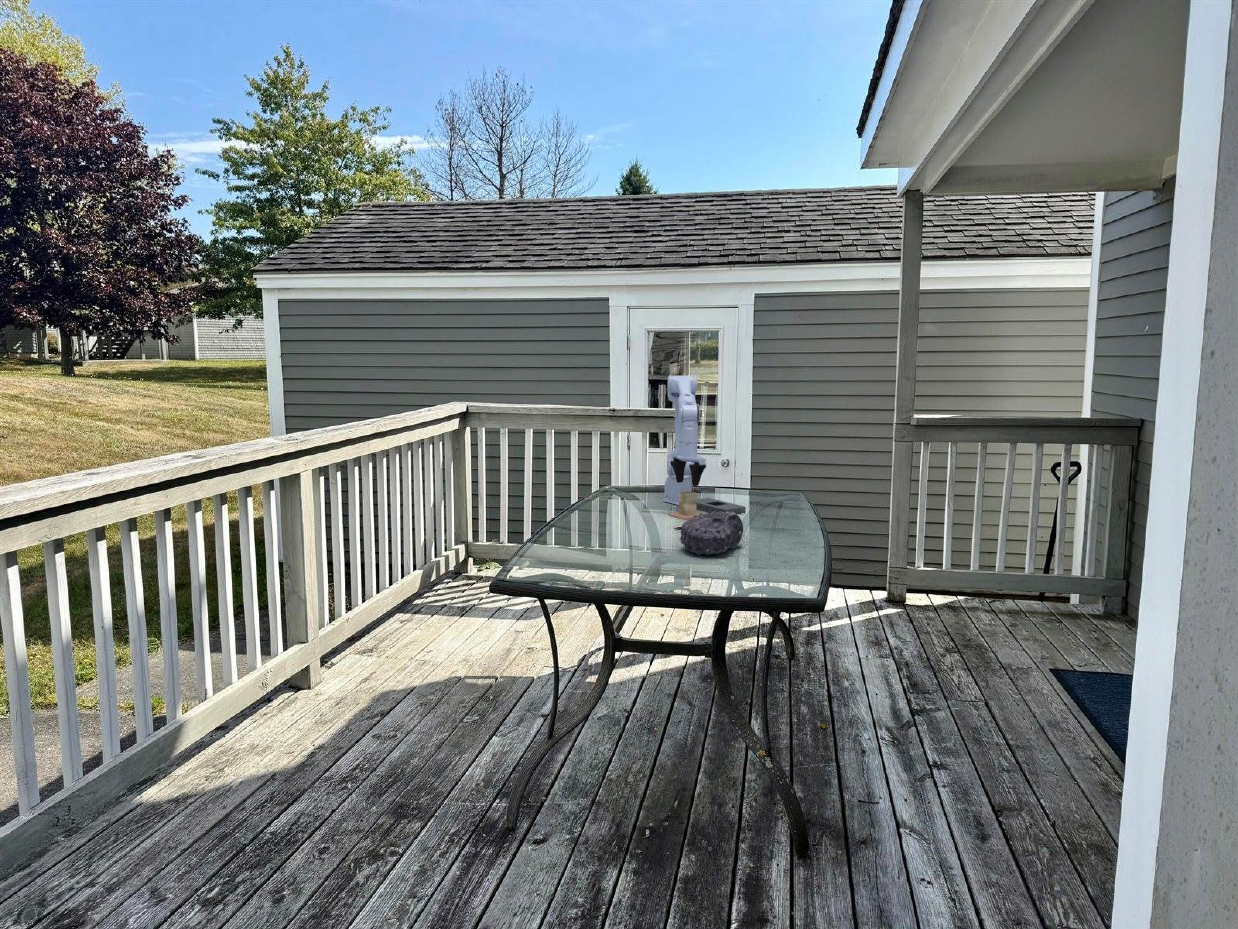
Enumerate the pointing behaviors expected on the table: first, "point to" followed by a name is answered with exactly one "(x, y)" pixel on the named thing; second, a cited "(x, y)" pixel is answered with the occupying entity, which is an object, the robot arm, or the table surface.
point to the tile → (680, 516)
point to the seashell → (712, 532)
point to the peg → (687, 503)
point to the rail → (718, 506)
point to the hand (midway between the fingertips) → (687, 484)
